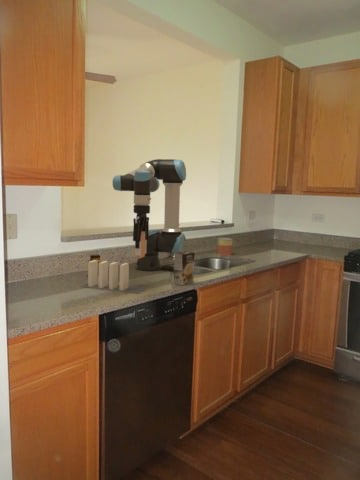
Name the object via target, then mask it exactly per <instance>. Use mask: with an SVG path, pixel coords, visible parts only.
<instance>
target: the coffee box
mask: <svg viewBox="0 0 360 480" xmlns="http://www.w3.org/2000/svg"><path fill="white" fill-rule="evenodd" d="M195 254H196V253H195V252H192V251H187V250H185V251H181V252H177V253H174V263H173V264H174V265H173V282H172V283H173V284H175V285H180V286H185V285H190V284H193V283H194V278H195V277H194V275H195V274H194V273H195Z"/></svg>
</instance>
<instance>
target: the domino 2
mask: <svg viewBox="0 0 360 480" xmlns="http://www.w3.org/2000/svg"><path fill="white" fill-rule="evenodd" d="M108 284H109V261H108V260H103V261H101V262H100V263H99V270H98V288H103V287H106V286H108Z"/></svg>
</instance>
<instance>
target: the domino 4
mask: <svg viewBox="0 0 360 480" xmlns="http://www.w3.org/2000/svg"><path fill="white" fill-rule="evenodd" d="M129 270H130V263H129V262H124V263H122V264H120V265H119V285H120V287H119V290H120V291H124V290H125V289H127V288H128V286H129V279H130V278H129V275H130V274H129V273H130V271H129Z"/></svg>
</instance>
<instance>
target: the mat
mask: <svg viewBox="0 0 360 480" xmlns="http://www.w3.org/2000/svg"><path fill="white" fill-rule="evenodd" d="M119 287H120V284H118V287H116V288H114V289H109V283H108V286H106V287H103V288H98V284H97V285H95V286H93V287H88V283H86V284H84V285H81V286H80V288H85V289H93V290H102V291H111V292H116V293H118V292H119V293H126V294H135V295H139V294H141V293H143V292H144V291H146V290H148V288H145V287H140V286H130V285H128V288H127V289H125V290H124V291H120V290H119Z"/></svg>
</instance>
